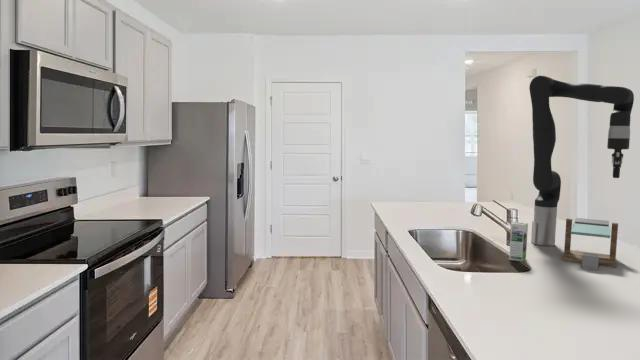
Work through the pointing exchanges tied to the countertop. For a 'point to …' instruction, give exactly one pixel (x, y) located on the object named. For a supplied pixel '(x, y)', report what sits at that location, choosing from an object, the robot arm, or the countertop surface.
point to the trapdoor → (591, 227)
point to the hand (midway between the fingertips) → (615, 177)
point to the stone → (590, 261)
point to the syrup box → (518, 241)
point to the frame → (578, 255)
